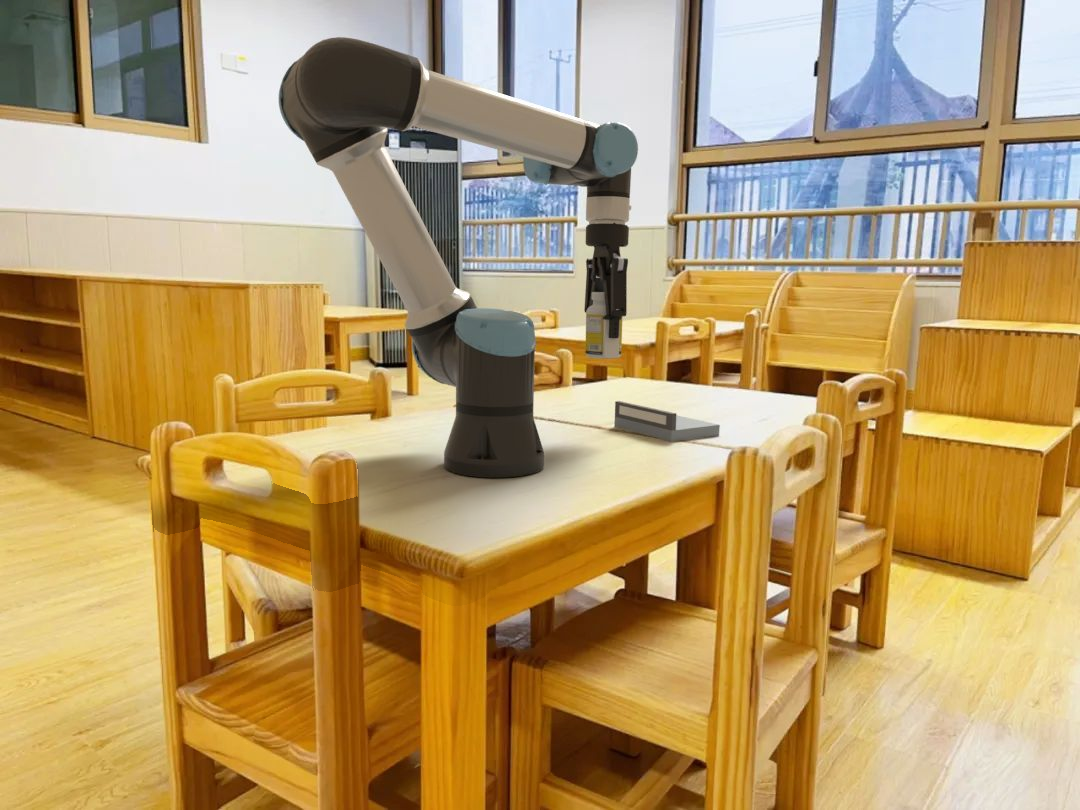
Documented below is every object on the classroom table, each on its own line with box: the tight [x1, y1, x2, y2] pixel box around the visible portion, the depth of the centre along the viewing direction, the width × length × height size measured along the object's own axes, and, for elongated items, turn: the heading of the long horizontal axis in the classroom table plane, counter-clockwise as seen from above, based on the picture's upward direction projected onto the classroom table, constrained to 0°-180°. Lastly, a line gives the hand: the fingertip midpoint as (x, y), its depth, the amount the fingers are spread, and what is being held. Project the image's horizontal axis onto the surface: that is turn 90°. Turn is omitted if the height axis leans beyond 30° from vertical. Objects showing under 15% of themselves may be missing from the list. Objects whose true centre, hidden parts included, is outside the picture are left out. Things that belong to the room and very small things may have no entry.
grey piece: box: [614, 400, 721, 442], centre depth 153 cm, size 12×16×5 cm
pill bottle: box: [584, 292, 624, 360], centre depth 145 cm, size 6×6×12 cm
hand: (603, 354), depth 145 cm, fingers closed on pill bottle, 6 cm apart
